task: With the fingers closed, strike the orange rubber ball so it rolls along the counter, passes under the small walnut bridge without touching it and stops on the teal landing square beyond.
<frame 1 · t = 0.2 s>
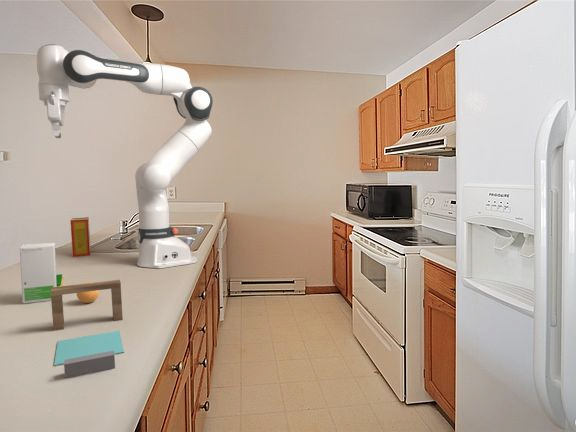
hand: (57, 137, 138), 48 cm above the countertop, tool pointing down, fingers open, 8 cm apart
skincare box: (41, 299, 115), on the countertop
dish sponge: (49, 288, 128), on the countertop
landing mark: (89, 347, 83), on the countertop
stopper: (90, 370, 73), on the countertop
bridge: (89, 322, 96), on the countertop
ball: (87, 292, 111), on the countertop
baking soda box: (82, 254, 177), on the countertop
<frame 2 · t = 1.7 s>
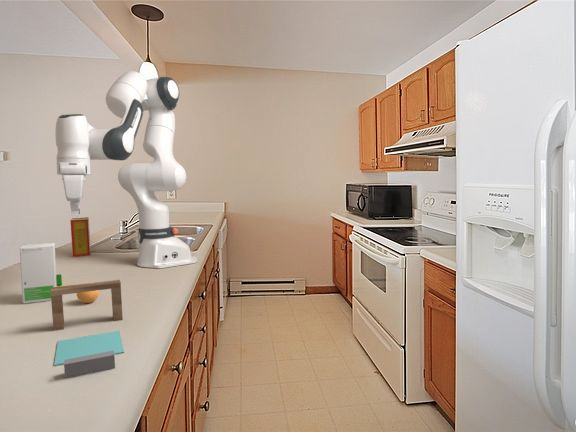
hand: (75, 215, 121), 23 cm above the countertop, tool pointing down, fingers open, 8 cm apart
nothing on the countertop moved.
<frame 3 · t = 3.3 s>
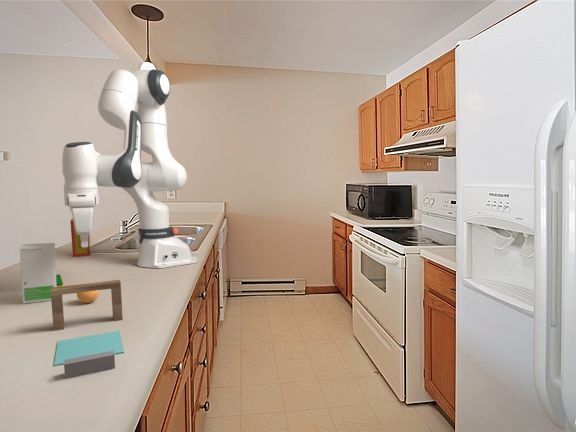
hand: (84, 246, 117), 14 cm above the countertop, tool pointing down, fingers closed
nothing on the countertop moved.
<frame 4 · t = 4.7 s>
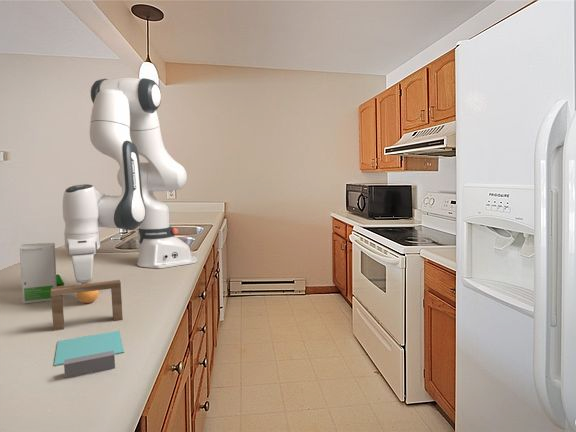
hand: (85, 290, 115), 2 cm above the countertop, tool pointing down, fingers closed
nothing on the countertop moved.
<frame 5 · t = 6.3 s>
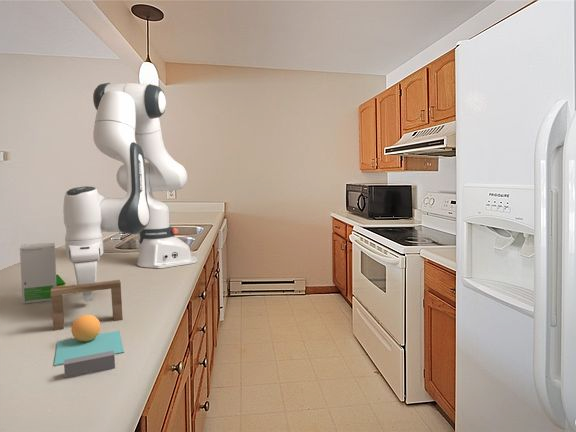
hand: (88, 299, 108), 2 cm above the countertop, tool pointing down, fingers closed
ball: (86, 328, 85), on the countertop
everything else where it was.
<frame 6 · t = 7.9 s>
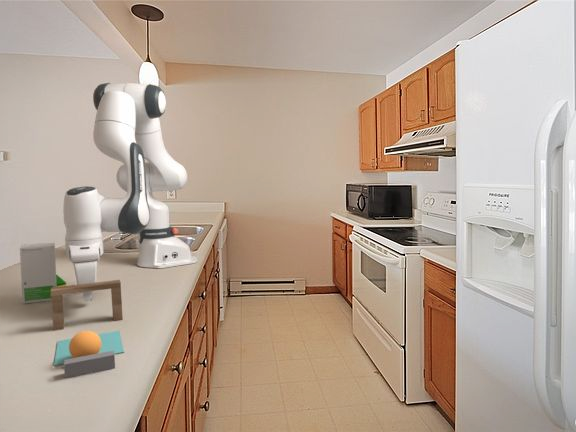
hand: (88, 299, 108), 2 cm above the countertop, tool pointing down, fingers closed
ball: (85, 345, 77), on the countertop
everything else where it was.
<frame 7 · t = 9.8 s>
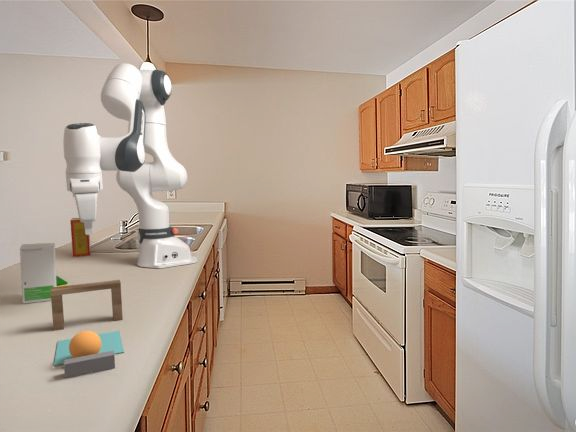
hand: (88, 233, 112), 19 cm above the countertop, tool pointing down, fingers closed
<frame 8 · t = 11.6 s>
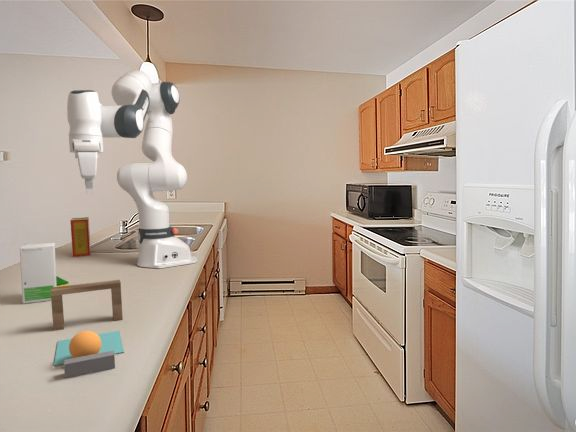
hand: (89, 194, 119), 29 cm above the countertop, tool pointing down, fingers closed
at the end: ball 5.8 cm from the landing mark (horizontally); ball never touched bridge; ball at rest at the end (0.0 cm/s) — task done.
